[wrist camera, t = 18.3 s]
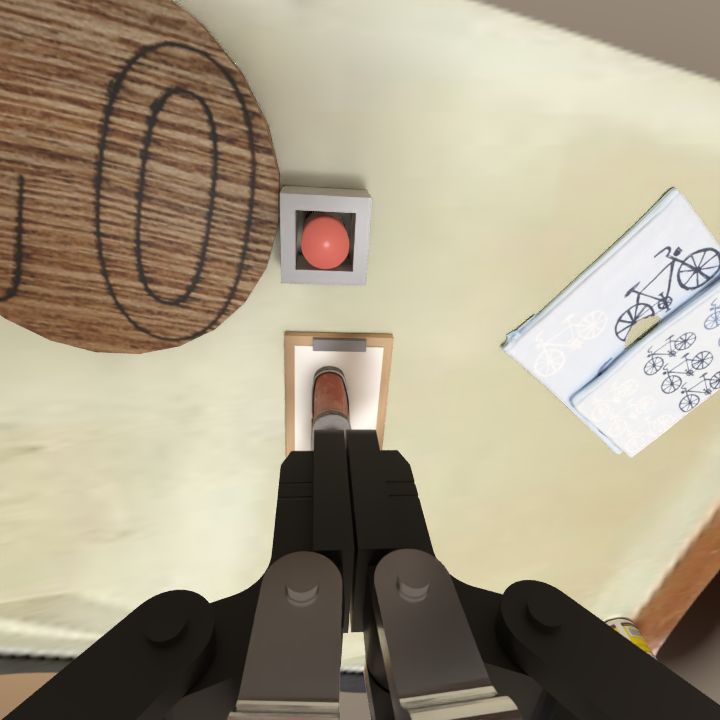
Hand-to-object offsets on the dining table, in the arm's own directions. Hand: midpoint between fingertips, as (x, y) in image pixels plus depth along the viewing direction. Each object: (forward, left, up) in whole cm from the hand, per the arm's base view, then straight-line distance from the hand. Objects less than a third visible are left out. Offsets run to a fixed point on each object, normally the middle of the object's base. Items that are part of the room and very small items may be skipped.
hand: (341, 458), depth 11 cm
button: (0, 0, -26) cm, 26 cm away
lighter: (+1, -15, -26) cm, 30 cm away
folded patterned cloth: (+29, -8, -28) cm, 41 cm away
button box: (0, 0, -27) cm, 27 cm away
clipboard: (+2, -15, -27) cm, 31 cm away
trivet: (-16, +2, -28) cm, 32 cm away
